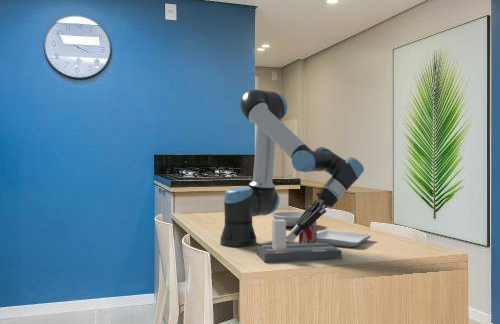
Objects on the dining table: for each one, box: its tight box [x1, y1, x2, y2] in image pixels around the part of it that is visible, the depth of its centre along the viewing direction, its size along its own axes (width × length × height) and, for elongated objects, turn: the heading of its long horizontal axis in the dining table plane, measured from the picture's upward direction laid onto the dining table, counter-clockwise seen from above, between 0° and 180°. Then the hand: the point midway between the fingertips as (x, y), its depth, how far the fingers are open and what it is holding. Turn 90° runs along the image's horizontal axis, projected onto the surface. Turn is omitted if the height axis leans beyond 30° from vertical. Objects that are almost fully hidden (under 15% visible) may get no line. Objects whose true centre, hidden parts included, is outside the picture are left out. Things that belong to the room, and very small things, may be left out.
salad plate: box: [316, 230, 372, 248], centre depth 192 cm, size 21×21×3 cm
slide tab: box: [271, 219, 287, 249], centre depth 163 cm, size 6×4×10 cm, turn 11°
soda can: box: [298, 220, 318, 244], centre depth 182 cm, size 7×7×12 cm
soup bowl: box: [269, 210, 304, 228], centre depth 236 cm, size 24×24×7 cm
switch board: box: [256, 243, 342, 263], centre depth 164 cm, size 13×28×4 cm, turn 101°
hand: (287, 240), depth 163 cm, fingers closed
